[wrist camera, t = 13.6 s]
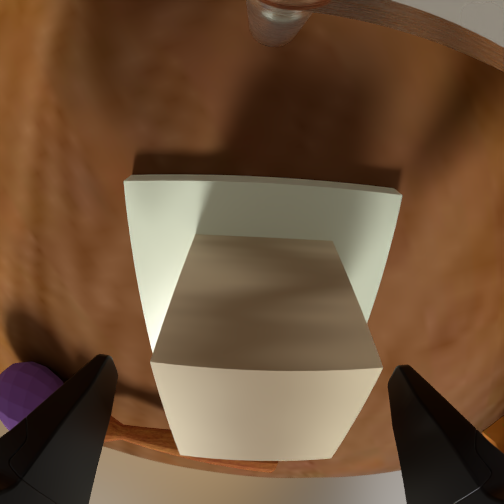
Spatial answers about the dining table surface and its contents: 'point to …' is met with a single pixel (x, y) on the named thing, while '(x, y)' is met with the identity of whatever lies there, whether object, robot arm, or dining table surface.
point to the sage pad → (253, 226)
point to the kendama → (46, 382)
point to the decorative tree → (496, 434)
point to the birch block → (263, 350)
